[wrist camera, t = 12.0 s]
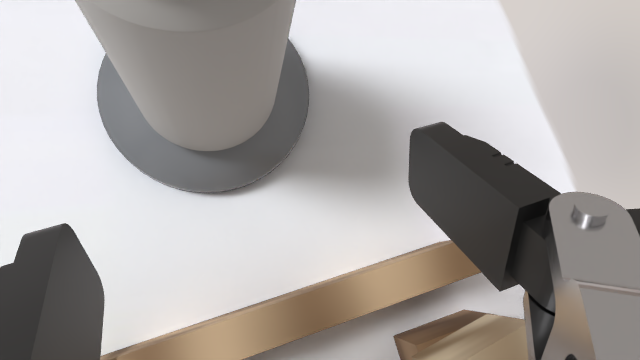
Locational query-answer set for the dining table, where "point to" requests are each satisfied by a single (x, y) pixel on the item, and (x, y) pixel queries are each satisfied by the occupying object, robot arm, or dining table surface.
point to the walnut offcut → (432, 332)
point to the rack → (308, 308)
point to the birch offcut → (482, 341)
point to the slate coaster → (205, 166)
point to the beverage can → (197, 63)
